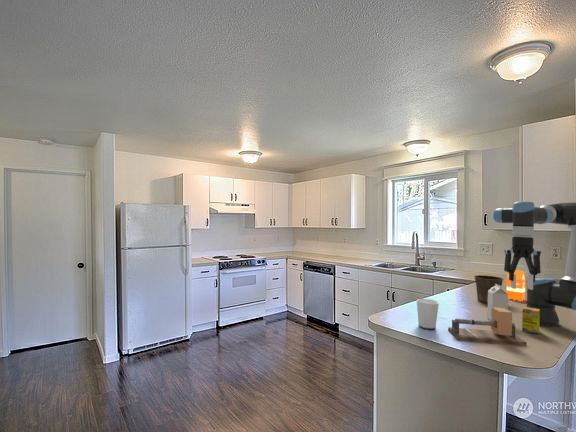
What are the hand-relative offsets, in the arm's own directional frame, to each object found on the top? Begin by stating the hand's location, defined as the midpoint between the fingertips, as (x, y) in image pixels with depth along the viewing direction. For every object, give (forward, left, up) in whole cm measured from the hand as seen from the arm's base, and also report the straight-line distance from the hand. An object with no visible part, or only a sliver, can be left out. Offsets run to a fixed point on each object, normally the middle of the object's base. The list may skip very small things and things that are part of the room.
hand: (521, 288), depth 136 cm
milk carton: (-4, -28, -23) cm, 37 cm away
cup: (+37, -8, -23) cm, 44 cm away
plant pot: (-19, -71, -23) cm, 77 cm away
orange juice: (-42, -83, -23) cm, 96 cm away
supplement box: (-12, -14, -23) cm, 30 cm away
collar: (+8, 0, -20) cm, 21 cm away
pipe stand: (+14, 0, -23) cm, 27 cm away
